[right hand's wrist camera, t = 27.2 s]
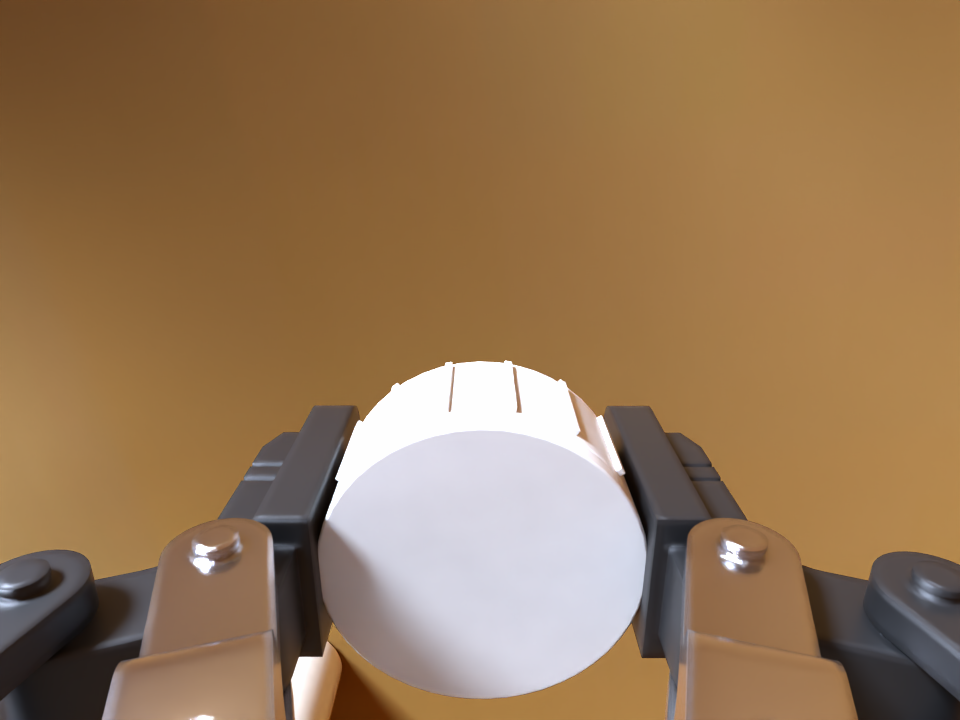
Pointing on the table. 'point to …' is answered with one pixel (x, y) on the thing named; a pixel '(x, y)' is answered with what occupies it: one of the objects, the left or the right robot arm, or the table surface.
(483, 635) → the lid
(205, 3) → the table surface
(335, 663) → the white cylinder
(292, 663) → the right robot arm
